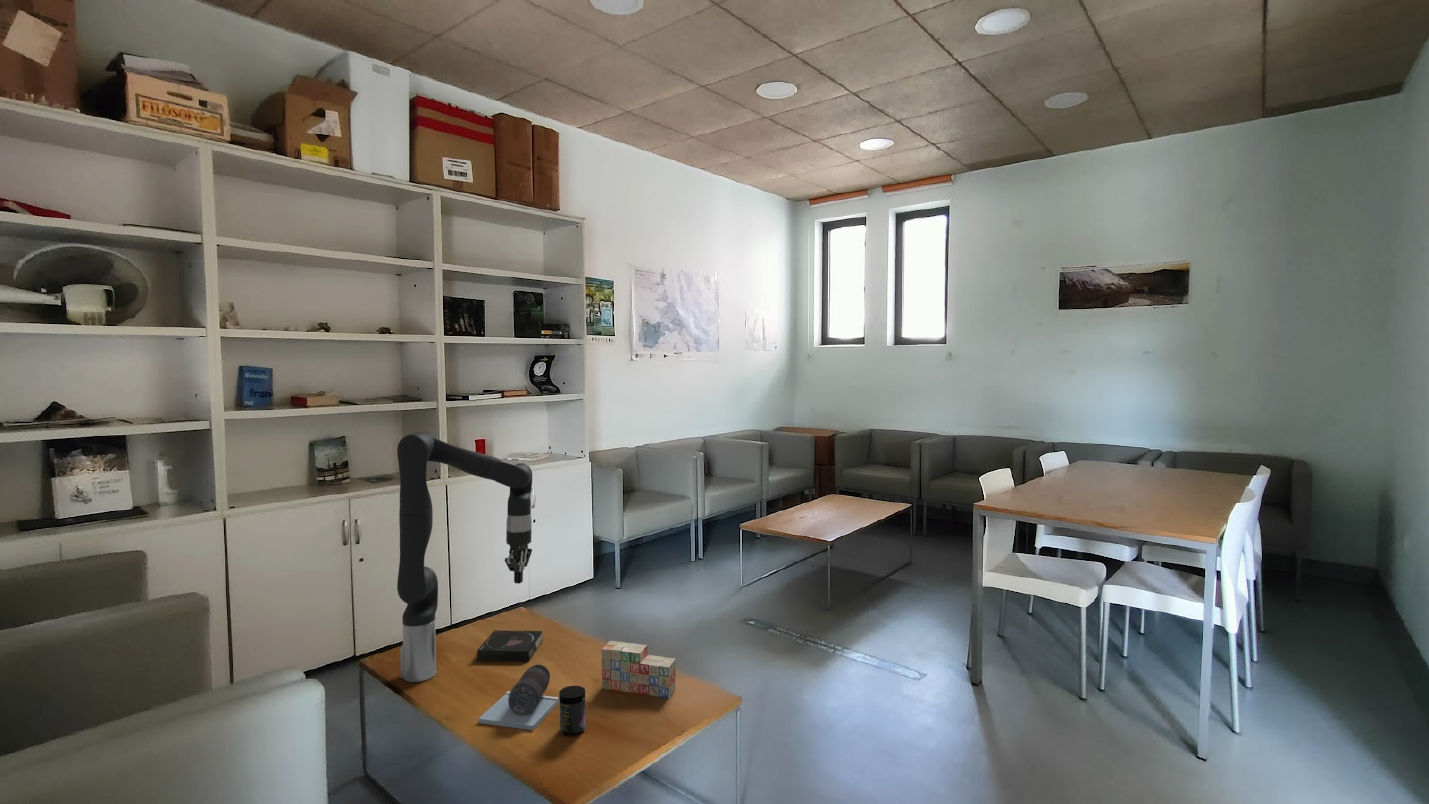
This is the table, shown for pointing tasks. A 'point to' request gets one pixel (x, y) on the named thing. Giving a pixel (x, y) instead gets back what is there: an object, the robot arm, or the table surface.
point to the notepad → (507, 718)
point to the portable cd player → (510, 646)
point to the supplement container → (572, 710)
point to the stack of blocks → (637, 670)
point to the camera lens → (529, 690)
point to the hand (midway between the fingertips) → (518, 582)
